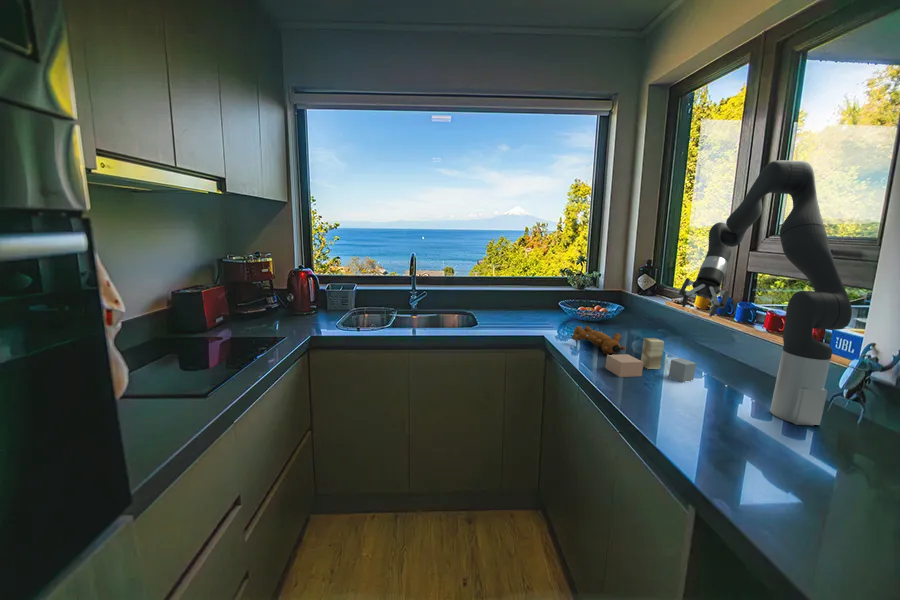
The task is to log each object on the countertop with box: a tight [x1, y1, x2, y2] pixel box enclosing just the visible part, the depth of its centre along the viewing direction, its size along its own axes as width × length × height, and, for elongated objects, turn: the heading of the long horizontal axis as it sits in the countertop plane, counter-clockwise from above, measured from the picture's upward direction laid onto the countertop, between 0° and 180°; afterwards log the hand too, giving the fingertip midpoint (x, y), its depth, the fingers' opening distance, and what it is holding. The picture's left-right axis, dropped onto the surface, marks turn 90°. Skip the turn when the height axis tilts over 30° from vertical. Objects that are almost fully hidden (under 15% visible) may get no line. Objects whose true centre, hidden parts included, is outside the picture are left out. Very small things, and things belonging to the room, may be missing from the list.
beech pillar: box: [640, 337, 665, 370], centre depth 137 cm, size 4×4×10 cm
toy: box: [572, 325, 627, 355], centre depth 160 cm, size 20×7×30 cm
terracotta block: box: [605, 353, 644, 378], centre depth 131 cm, size 8×8×5 cm
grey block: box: [668, 357, 697, 383], centre depth 127 cm, size 5×5×6 cm
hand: (697, 311), depth 136 cm, fingers open, 8 cm apart
